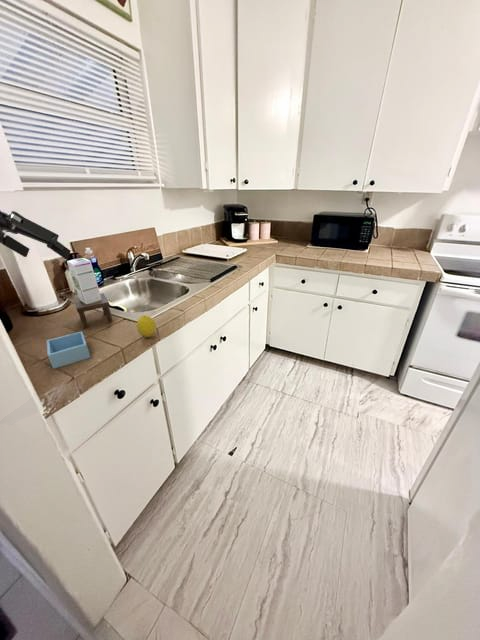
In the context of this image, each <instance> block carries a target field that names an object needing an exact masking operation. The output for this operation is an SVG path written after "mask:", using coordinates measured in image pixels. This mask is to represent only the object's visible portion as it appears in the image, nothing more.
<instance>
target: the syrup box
mask: <svg viewBox="0 0 480 640" xmlns="http://www.w3.org/2000/svg"><path fill="white" fill-rule="evenodd" d="M66 264H67V267H68V269H69V272H70V276H71V278H72V282H73V285H74V287H75V290H76V293H77V298H79V300H80V301H81V302H83V303H84V304H90V303H94V302H97V301H100V300H102V299H101V295H100V294H101V292H100V291H101V290H100V288H99V285H98V281H97V278H96V275H95V271H94V268H93V265H92V261H91V260H90V259H87V258H85V257H80V258H79V257H78V258H73V259H70V260H69V259H68V260H67V261H66Z"/></svg>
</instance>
